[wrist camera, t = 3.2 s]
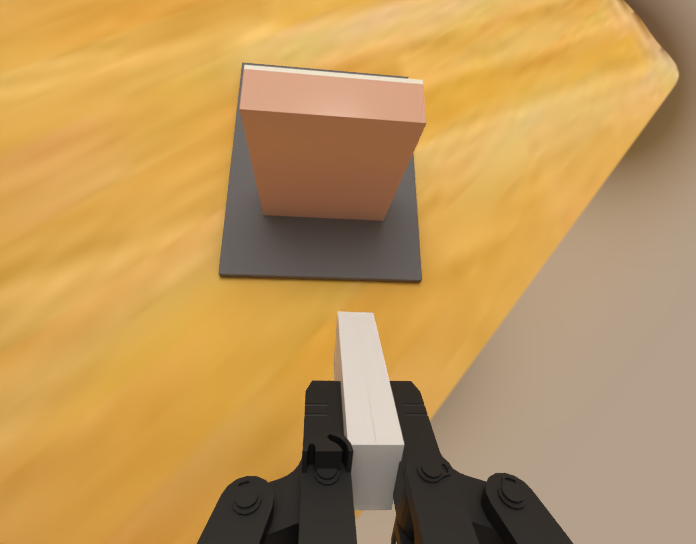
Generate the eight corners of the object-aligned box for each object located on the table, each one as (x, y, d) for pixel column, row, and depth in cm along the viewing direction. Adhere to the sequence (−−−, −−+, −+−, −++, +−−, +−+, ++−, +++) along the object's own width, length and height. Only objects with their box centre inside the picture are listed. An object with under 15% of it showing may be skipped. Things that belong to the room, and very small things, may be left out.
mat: (220, 276, 30) (218, 273, 29) (243, 67, 36) (242, 62, 36) (419, 282, 31) (421, 280, 31) (406, 81, 38) (408, 77, 38)
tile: (263, 215, 31) (239, 109, 20) (265, 183, 32) (244, 64, 21) (383, 220, 32) (426, 123, 21) (382, 189, 33) (422, 80, 22)
